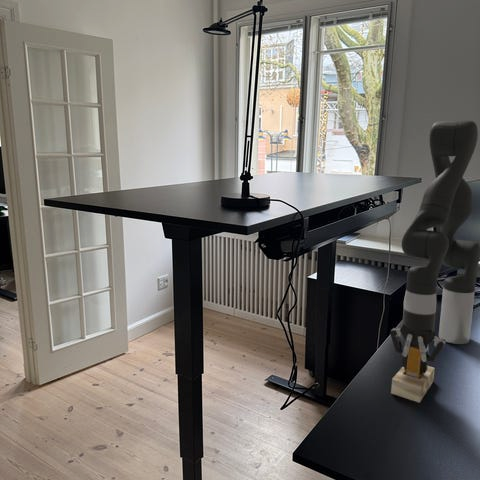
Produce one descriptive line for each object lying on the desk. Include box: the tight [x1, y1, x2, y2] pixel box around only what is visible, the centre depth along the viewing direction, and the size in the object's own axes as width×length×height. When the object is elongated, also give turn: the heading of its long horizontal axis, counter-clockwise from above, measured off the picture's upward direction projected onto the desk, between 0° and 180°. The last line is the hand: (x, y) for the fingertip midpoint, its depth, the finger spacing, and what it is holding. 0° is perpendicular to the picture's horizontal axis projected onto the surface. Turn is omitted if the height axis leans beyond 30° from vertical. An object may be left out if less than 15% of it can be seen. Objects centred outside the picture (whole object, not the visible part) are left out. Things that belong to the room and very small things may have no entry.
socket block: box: [390, 365, 435, 404], centre depth 115 cm, size 13×7×4 cm, turn 143°
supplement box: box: [406, 346, 422, 379], centre depth 114 cm, size 3×3×10 cm
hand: (414, 370), depth 114 cm, fingers closed on supplement box, 3 cm apart
